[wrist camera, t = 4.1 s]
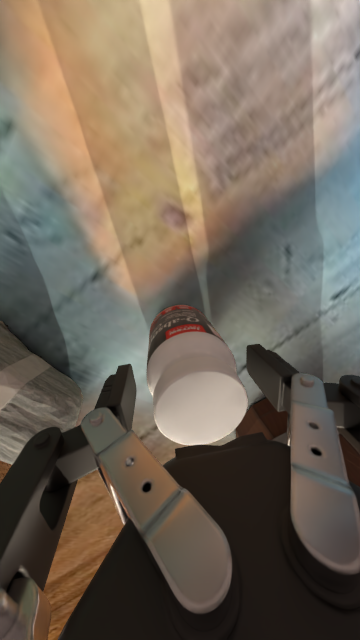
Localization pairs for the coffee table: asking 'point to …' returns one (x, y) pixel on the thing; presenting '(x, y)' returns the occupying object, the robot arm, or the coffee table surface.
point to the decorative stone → (31, 396)
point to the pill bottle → (192, 378)
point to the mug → (275, 428)
